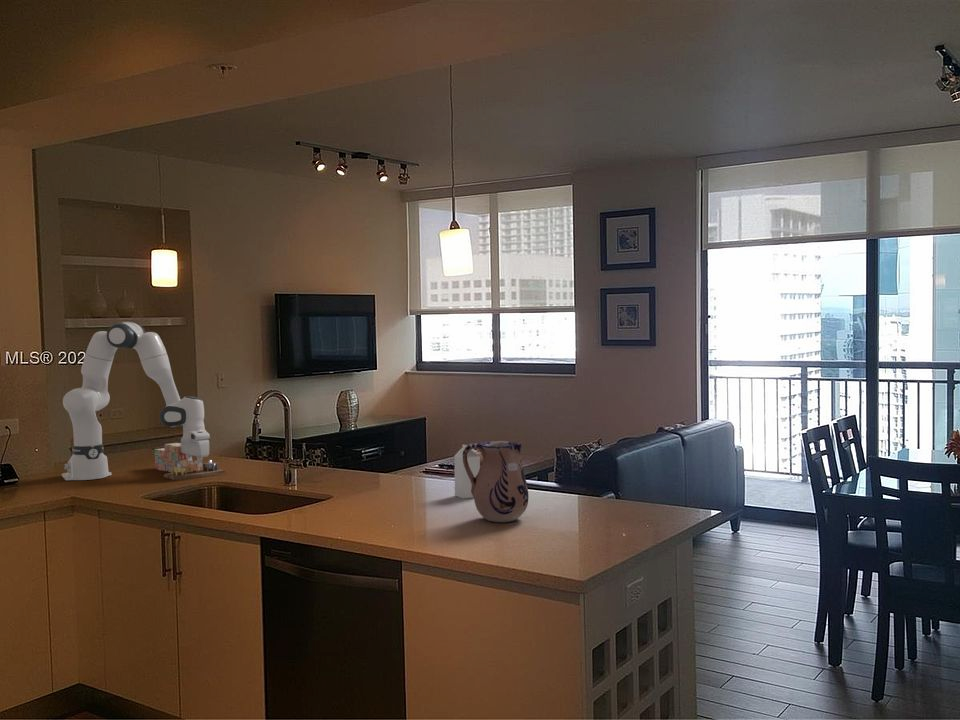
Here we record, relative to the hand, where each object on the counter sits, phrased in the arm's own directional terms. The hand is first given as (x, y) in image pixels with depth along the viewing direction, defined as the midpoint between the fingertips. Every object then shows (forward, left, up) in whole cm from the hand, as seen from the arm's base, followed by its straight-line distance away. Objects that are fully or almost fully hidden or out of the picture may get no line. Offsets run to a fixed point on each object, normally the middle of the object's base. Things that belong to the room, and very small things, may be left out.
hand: (194, 465), depth 365 cm
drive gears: (0, 0, -3) cm, 3 cm away
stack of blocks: (-20, -1, -5) cm, 21 cm away
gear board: (0, 0, -4) cm, 4 cm away
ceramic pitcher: (+155, +29, -4) cm, 158 cm away
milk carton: (+120, +49, -4) cm, 130 cm away
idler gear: (0, 0, -2) cm, 2 cm away
